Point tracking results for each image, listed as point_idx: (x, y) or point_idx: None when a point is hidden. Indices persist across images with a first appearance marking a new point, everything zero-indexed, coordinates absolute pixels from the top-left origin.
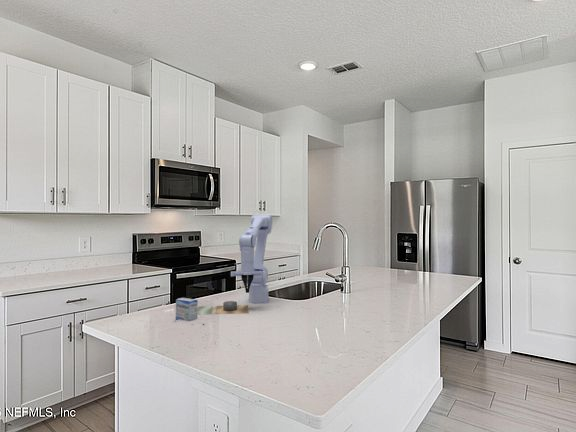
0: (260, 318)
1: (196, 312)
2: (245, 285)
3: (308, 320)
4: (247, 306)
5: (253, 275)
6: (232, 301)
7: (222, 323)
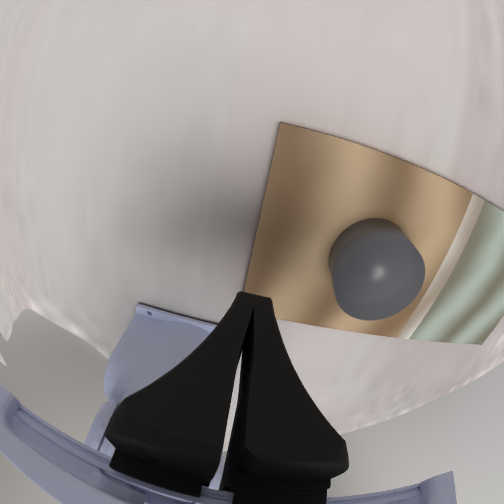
0: (216, 38)
1: None
2: (275, 356)
3: (31, 21)
4: (250, 287)
5: (110, 463)
6: (355, 308)
7: (455, 40)
